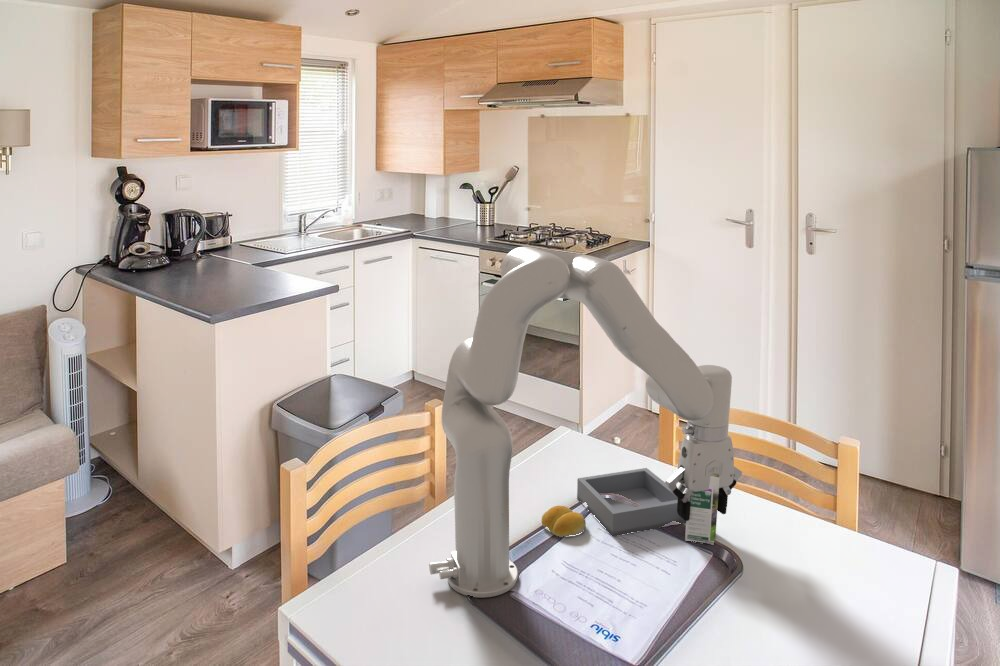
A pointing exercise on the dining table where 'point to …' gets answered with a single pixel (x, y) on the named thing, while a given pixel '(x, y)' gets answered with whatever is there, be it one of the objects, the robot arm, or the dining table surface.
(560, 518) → the bread roll
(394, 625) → the dining table surface
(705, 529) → the syrup box
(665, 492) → the bin
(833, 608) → the dining table surface
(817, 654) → the dining table surface
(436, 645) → the dining table surface
